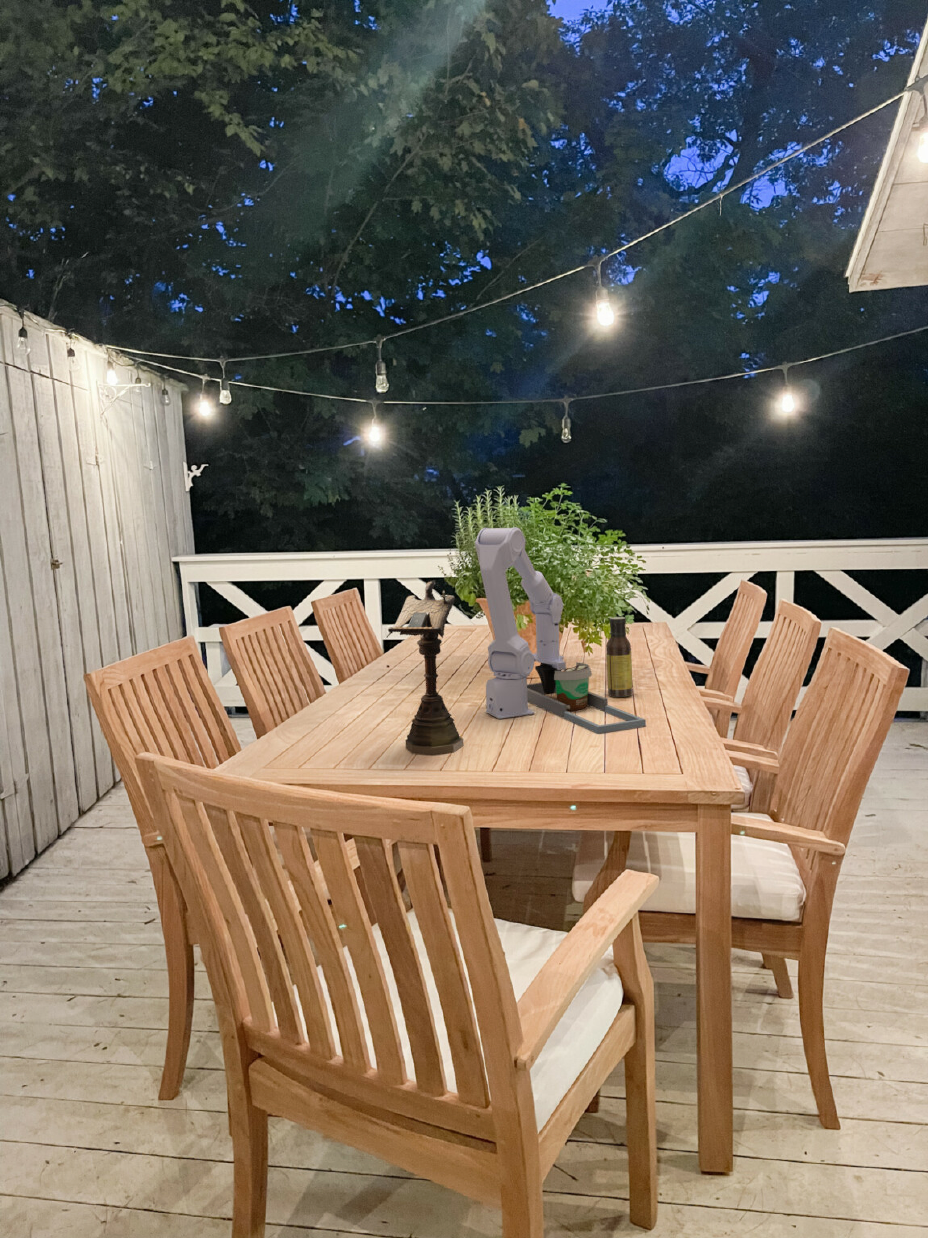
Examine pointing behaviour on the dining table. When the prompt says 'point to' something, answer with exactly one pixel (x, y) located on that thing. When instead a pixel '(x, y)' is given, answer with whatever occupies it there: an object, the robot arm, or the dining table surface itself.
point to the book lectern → (429, 674)
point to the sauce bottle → (619, 660)
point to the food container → (573, 686)
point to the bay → (630, 723)
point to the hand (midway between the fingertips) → (549, 693)
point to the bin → (555, 706)
